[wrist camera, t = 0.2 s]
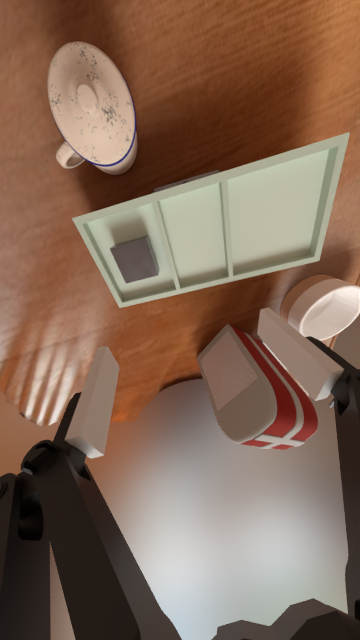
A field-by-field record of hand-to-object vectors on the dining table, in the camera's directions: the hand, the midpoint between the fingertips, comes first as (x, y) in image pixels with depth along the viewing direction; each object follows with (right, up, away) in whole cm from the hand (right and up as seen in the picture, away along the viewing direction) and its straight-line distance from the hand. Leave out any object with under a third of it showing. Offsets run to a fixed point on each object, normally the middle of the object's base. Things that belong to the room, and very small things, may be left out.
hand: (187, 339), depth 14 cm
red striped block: (+16, -9, +42) cm, 46 cm away
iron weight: (-8, +13, +15) cm, 22 cm away
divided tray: (+4, +16, +14) cm, 22 cm away
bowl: (+38, +7, +36) cm, 53 cm away
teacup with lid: (-13, +29, +12) cm, 34 cm away
